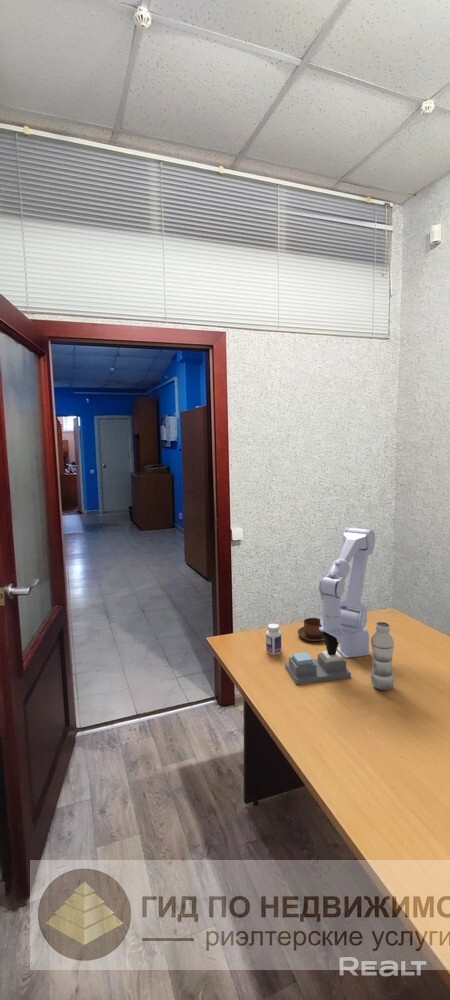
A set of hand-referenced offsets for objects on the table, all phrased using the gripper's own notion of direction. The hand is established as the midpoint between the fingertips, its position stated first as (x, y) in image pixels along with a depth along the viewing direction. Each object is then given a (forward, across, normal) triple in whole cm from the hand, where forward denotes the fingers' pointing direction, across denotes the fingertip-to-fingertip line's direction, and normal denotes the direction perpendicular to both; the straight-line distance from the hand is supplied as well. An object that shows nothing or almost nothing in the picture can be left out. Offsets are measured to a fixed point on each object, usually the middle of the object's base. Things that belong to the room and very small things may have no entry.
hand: (331, 654), depth 144 cm
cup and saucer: (+6, -25, +4) cm, 26 cm away
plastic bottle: (+6, +13, +10) cm, 18 cm away
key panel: (+6, 0, -5) cm, 8 cm away
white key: (+3, 0, 0) cm, 3 cm away
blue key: (+3, 0, -10) cm, 10 cm away
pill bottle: (+6, -17, -14) cm, 23 cm away
